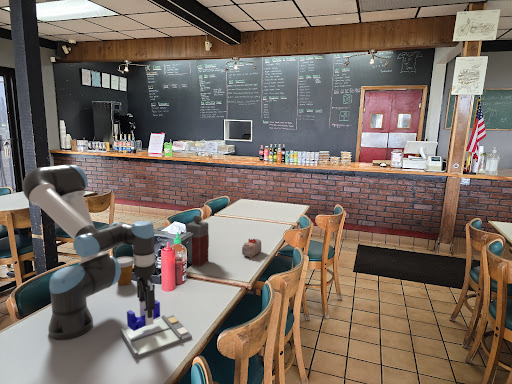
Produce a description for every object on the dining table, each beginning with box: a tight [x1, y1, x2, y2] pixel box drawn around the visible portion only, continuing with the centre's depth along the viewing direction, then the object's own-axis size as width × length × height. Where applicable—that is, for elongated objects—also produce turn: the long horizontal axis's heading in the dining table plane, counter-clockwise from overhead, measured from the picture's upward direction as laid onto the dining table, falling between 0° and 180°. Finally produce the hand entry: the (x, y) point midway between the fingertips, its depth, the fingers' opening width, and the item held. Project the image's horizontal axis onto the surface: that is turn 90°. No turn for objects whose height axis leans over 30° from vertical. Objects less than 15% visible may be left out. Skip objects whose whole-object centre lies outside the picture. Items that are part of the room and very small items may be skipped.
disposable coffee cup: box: [116, 256, 134, 286], centre depth 172 cm, size 10×10×12 cm
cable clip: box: [126, 299, 161, 331], centre depth 131 cm, size 12×4×6 cm, turn 138°
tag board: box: [120, 314, 193, 360], centre depth 131 cm, size 17×21×2 cm
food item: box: [241, 238, 262, 259], centre depth 214 cm, size 14×8×10 cm, turn 153°
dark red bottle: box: [185, 214, 210, 267], centre depth 198 cm, size 9×11×28 cm
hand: (146, 320), depth 132 cm, fingers closed on cable clip, 5 cm apart
